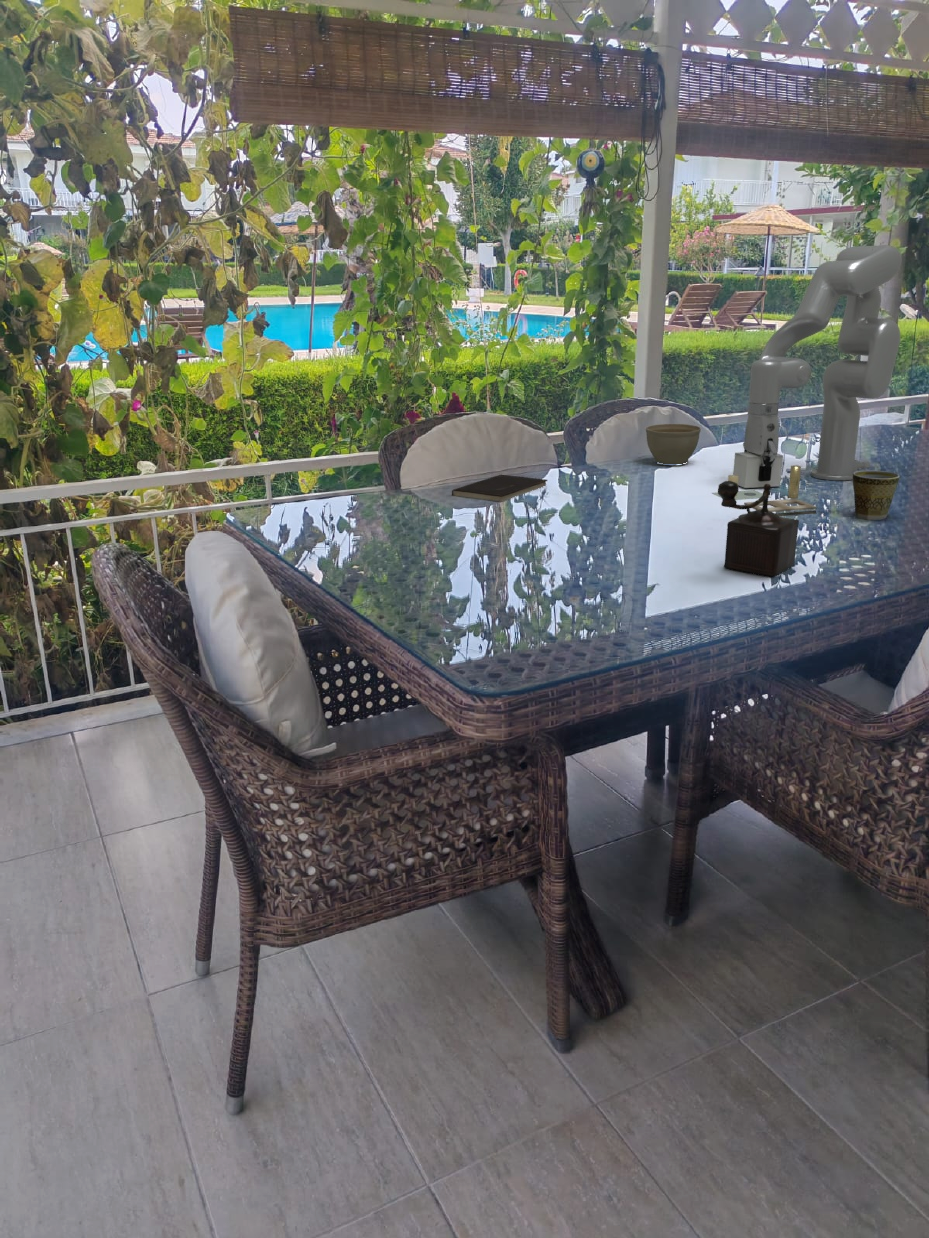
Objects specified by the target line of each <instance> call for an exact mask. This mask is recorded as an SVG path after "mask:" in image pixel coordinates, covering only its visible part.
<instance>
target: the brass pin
mask: <svg viewBox="0 0 929 1238" xmlns="http://www.w3.org/2000/svg"><path fill="white" fill-rule="evenodd" d="M801 471H802V466H801V465H793V464H792V465H790V473H789V481H788V482H789V483H788V494H787V499H788V498H789V499H798V498H799V494H800V493H799V492H800V481H801V473H802V472H801Z"/></svg>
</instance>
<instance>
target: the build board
mask: <svg viewBox="0 0 929 1238" xmlns="http://www.w3.org/2000/svg"><path fill="white" fill-rule="evenodd" d="M753 502H754V501H751V502H750V501H747V502H744V503H743V505H747V504H751V503H753ZM789 504H790V505H789ZM791 504H797V505H791ZM762 506H763V502H762V503H760V504H758V505H757V506H755V507H753V508H752V509H753V510H754V511H755V510H759V509H762ZM768 506H770V507H767V509H768V511H771V512H773V513H775V514H777V515H778V516H779V517H787V516H789V517H790V516H799V515H814V514H817V506H816V505H813V504H811V503H808V502H805V501H803V500H800V499H798V498H789V499H788V498H787V499H776V500H775V499H774V500H768ZM804 510H805V511H804ZM776 512H777V513H776Z"/></svg>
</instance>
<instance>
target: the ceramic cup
mask: <svg viewBox="0 0 929 1238" xmlns="http://www.w3.org/2000/svg"><path fill="white" fill-rule="evenodd" d="M899 482H900V474H898V473H895V472H892V471H886V470H874V469H873V470H871V469H870V470H866V469H863V470H857V472H854V473H853V479H852V488H853V495H854V496H853V497H854V513H855V515H856V517H857V518H858V519H862V520H869V521H880V520H885V519H886V518H887V517H888V514H889V512H890V507H891V506H892V502H893V498H894V495H895V493H896V490H897V487H898V485H899Z"/></svg>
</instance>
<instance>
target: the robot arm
mask: <svg viewBox="0 0 929 1238" xmlns="http://www.w3.org/2000/svg"><path fill="white" fill-rule="evenodd" d="M902 259H903V258H902V253H901V251H900V249H898V248H897V247H896V246H893V245H889V244H888V245H886V244H885V245H884V244H883V245H882V244H881V245H879V244H878V245H857V246H850V247H846V248H844V249H842V250H841V251H840V252H839V253H838V254H837V257H836V260H832V261H831V260H830V261H825V262H823V263H821V264H820V265H818V267H817V268H816V269H815V271H814V273H813V275H812V277H811V279H810V282H809V283H808V286H807V287H806V290H805V293H804V294H803V297H802V300H801V301H800V303H799V306H798V308H797V310H796V312H795V313H794V316H792V317H791V318H790V319H789V320H788V321H786V322H785V323H784V324H783V325H782V326H780V328H778V329H777V331H775V332H774V333H773V334H772V335H771V337H770V338H769V339H768V341H767V342H766V344H765V346H764V348H763V350H762V351H761V352H762V353H761V355H760V356H759V359H758V360H754V361H753V362H752V363H751V366H750V367H751V369H750V379H749V381H750V382H749V392H748V393H749V394H748V403H747V421H746V426H745V432H744V434H745V435H744V442H743V443H742V447H743V452H751V453H754V454H757V455H760V457H761V466H759V478H758V480H759V481H770V480H771V470H772V466H773V462H774V460H775V457H776V456H777V454H778V451H779V439H780V438H779V437H780V436H779V435H780V427H779V426H780V425H779V424H780V423H779V409H780V408H779V407H780V396H781V395H780V394H781V389H783V388H784V389H785V388H786V389H798V388H802V387H803V386H805V385H806V384H807V383H808V382H809V381H810V379H811V376H812V368H811V365H810V364H809V362H808V361H806V360H804V359H802V358H799V357H798V358H797V357H786V356H785V355H786V354H787V352H788V351H789V350H791V348H792V347H793V346H794V345H796V344H797V343H799V342H800V341H803V340H804V339H807V338H809V337H811V336H814V335H815V334H817V333H819V332H822V331H823V330H825V329H826V327H828V325H829V323H830V320H831V318H832V316H833V314H834V311H835V309H836V307H837V306H838V302H839V300H840V298H841V297H846V305H845V309H844V312H843V318H842V322H841V326H840V329H839V332H838V333H839V334H838V339H837V340H838V341H837V346H838V349H839V351H840V352H842V353H844V354H847V355H851V356H852V355H854V356H865V357H867V360H859V359H837V360H835V361H832V362H831V363H829V364H828V365H827V366H826V368H825V369H824V371H823V375H822V390H823V392H822V393H823V410H822V411H823V412H822V420H821V421H822V422H821V431H820V437H819V438H820V439H819V450H818V458H817V467H816V469H815V468H814V469H811V471H810V476H811V477H813V478H816V479H820V480H828V481H829V480H830V481H851V480H852V481H853V473H854V472H857V471H860V469H861V470H866V469H870V468H871V463H870V461H861V462H860V461H859V460H858V459H856V451H857V443H858V436H859V435H858V434H859V425H860V419H861V410H860V405H859V402H858V399H867V400H869V399H870V400H873V399H878V398H880V397H882V396H883V395H884V394H885V393H886V392H887V389H888V387H889V385H890V382H891V378H892V375H893V372H894V368H895V363H896V359H897V356H898V353H899V349H900V344H901V330H900V327H899V326H898V324H897V322H895V321H894V320H892V319H888V318H879V313H880V309H881V306H882V305H881V303H882V294H881V291H880V288H879V287H880V286H882V285H884V284H885V283H888V282H889V281H891V280H892V279H893V278H895V277H896V276H897V274H898V273H899V271H900V269H901V267H902V261H903V260H902ZM857 398H858V399H857ZM764 452H766V454H764ZM766 456H769V457H767V458H766V459H765V458H764V457H766Z"/></svg>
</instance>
